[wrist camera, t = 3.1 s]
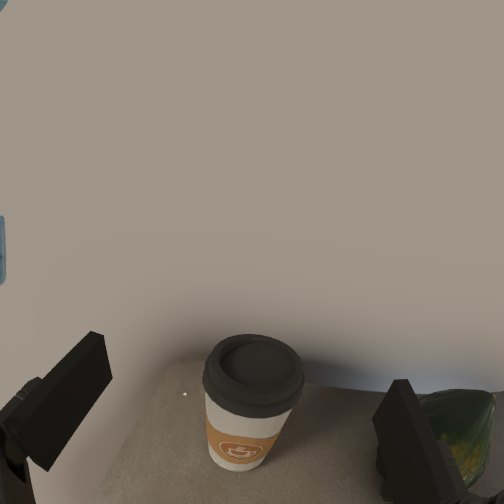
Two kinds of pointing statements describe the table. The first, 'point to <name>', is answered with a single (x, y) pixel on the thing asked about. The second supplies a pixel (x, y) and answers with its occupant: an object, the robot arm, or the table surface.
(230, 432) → the coffee cup
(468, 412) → the squash
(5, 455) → the robot arm
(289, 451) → the table surface
